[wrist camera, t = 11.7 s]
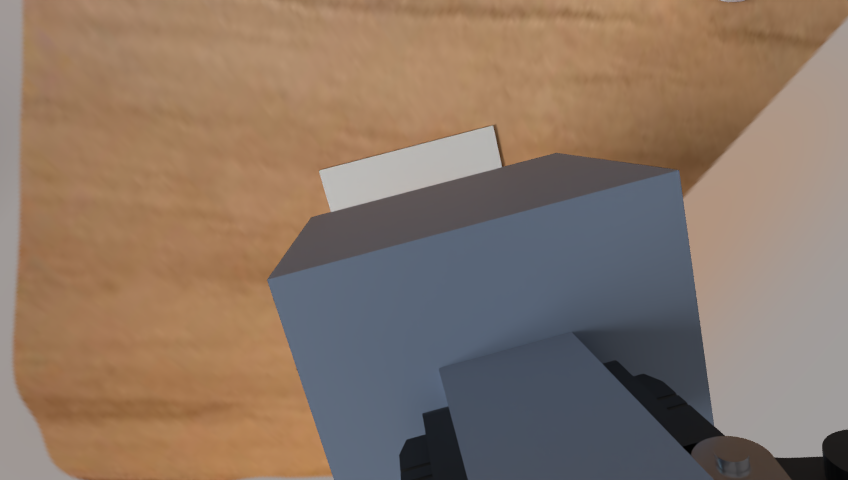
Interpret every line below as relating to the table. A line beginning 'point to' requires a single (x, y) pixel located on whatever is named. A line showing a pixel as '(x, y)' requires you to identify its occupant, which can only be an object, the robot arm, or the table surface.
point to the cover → (501, 322)
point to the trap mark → (411, 168)
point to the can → (732, 0)
